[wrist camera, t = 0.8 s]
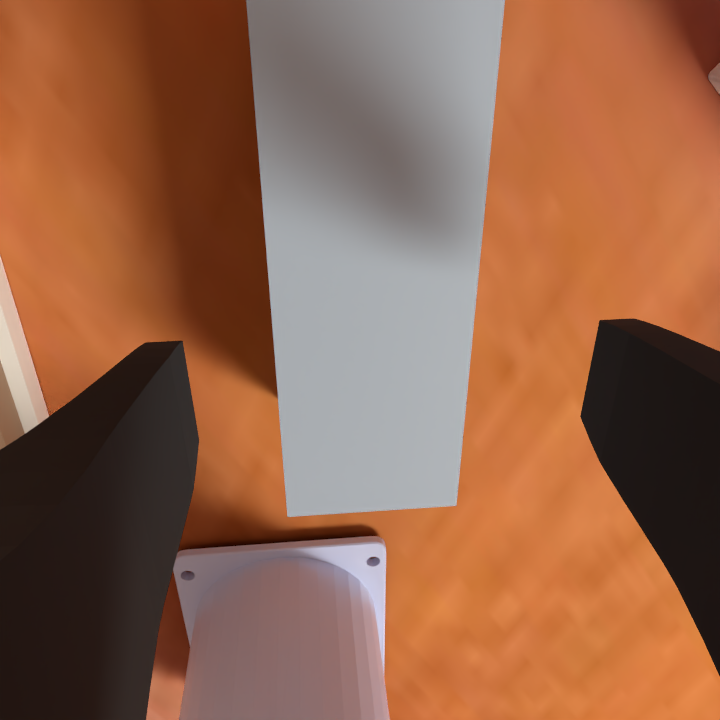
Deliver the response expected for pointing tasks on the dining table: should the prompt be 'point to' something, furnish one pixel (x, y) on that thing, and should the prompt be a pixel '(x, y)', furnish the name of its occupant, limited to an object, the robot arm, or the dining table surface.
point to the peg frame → (16, 374)
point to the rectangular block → (373, 237)
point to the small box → (715, 78)
